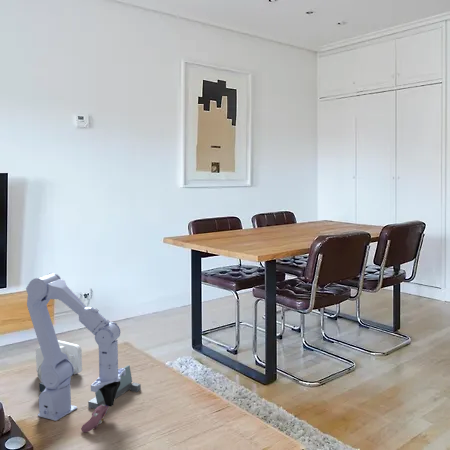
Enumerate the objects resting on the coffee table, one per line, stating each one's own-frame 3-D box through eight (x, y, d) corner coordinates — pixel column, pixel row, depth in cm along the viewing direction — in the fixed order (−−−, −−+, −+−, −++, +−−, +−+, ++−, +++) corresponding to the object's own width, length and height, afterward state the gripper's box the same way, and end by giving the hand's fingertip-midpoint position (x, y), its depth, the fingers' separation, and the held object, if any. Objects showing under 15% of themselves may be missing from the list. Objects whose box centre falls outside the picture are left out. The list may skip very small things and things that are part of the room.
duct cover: (95, 384, 157) (93, 384, 157) (98, 403, 157) (97, 403, 158) (129, 365, 173) (127, 365, 174) (132, 381, 173) (130, 381, 174)
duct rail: (107, 412, 156) (107, 405, 156) (88, 407, 159) (88, 400, 159) (140, 390, 172) (140, 383, 172) (122, 386, 175) (122, 380, 175)
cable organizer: (34, 376, 185) (33, 346, 184) (57, 366, 194) (56, 338, 193) (61, 384, 178) (60, 353, 176) (84, 374, 187) (83, 344, 185)
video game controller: (92, 439, 143) (102, 418, 142) (79, 431, 143) (88, 411, 142) (104, 422, 153) (113, 403, 152) (91, 415, 153) (100, 396, 152)
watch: (64, 389, 173) (63, 359, 172) (44, 397, 167) (43, 366, 166) (54, 385, 176) (53, 355, 175) (34, 393, 170) (33, 362, 169)
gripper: (103, 373, 143) (104, 418, 144) (133, 357, 156) (133, 398, 158) (84, 369, 146) (85, 413, 147) (115, 353, 159) (116, 394, 161)
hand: (109, 405), depth 153 cm, fingers closed
